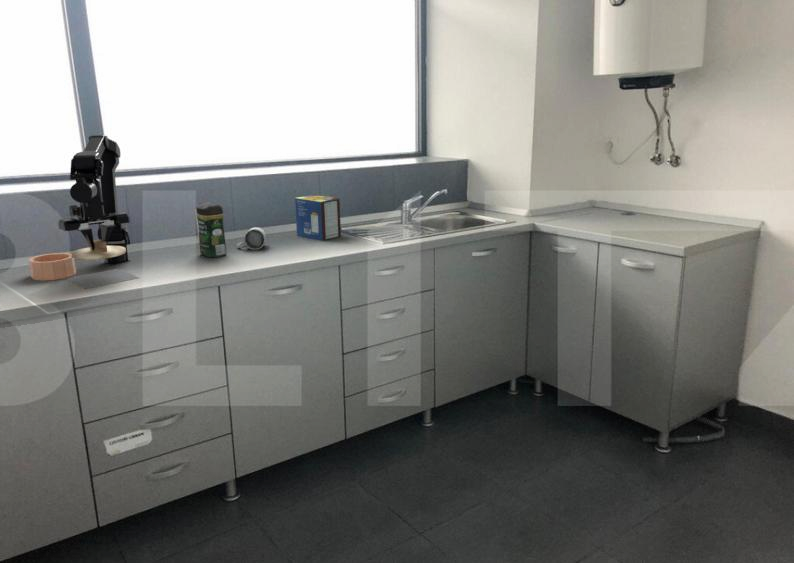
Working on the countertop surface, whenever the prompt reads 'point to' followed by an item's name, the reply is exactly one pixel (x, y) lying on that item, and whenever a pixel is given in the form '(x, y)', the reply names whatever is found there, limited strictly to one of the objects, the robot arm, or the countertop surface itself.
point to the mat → (102, 278)
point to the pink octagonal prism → (52, 266)
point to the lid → (98, 251)
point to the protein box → (318, 217)
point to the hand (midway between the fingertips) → (98, 249)
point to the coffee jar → (211, 229)
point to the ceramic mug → (253, 239)
